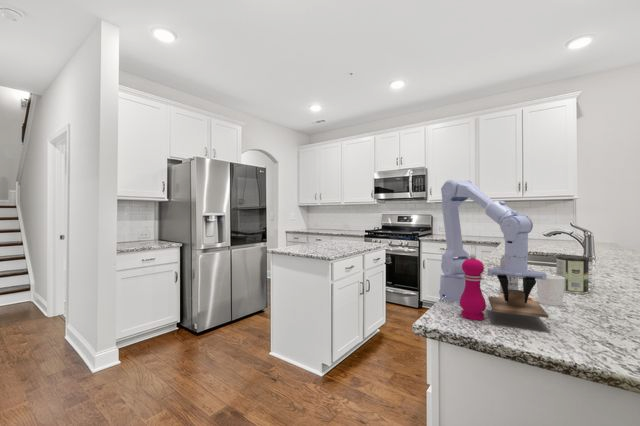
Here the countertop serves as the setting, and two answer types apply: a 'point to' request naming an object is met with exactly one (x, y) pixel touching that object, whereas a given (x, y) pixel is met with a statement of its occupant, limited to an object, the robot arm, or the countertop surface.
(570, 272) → the coffee can
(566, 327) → the countertop surface
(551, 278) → the white cup
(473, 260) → the pepper mill
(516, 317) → the mat
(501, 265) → the energy drink can
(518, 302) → the lid
